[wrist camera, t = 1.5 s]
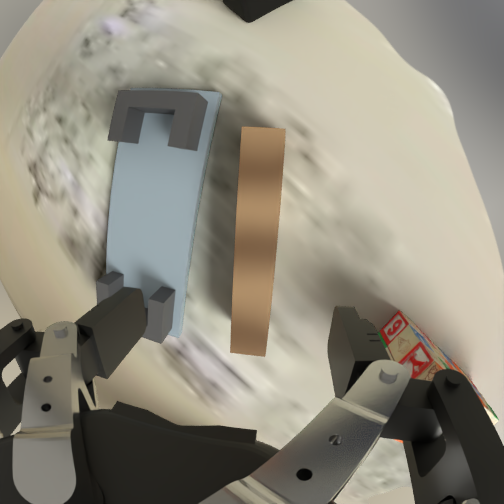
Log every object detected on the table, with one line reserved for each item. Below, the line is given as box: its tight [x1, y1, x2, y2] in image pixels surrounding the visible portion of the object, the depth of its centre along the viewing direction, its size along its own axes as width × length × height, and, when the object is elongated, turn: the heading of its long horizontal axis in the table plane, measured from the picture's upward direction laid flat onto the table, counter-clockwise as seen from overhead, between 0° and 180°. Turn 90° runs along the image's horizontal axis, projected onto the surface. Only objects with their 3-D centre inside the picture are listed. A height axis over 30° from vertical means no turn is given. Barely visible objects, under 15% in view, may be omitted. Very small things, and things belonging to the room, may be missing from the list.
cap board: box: [96, 88, 222, 343], centre depth 23 cm, size 24×9×4 cm, turn 168°
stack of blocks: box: [378, 311, 499, 443], centre depth 21 cm, size 21×6×12 cm, turn 53°
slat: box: [230, 127, 285, 357], centre depth 23 cm, size 18×3×5 cm, turn 176°
